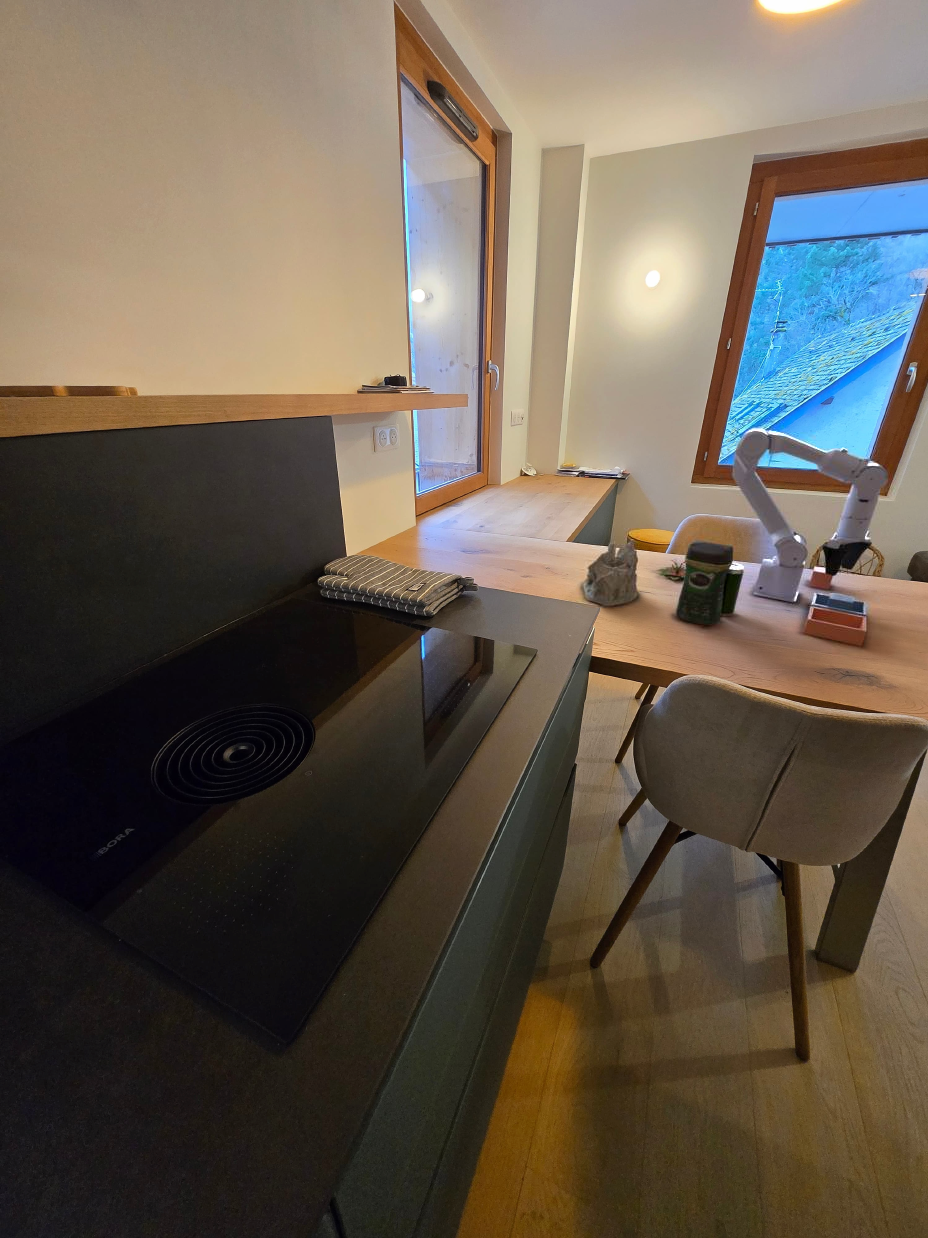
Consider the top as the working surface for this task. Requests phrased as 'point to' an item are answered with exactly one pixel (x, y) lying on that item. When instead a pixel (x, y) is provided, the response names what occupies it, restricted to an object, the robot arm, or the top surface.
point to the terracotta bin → (836, 625)
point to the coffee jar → (704, 582)
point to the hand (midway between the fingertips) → (838, 571)
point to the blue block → (840, 601)
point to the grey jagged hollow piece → (613, 576)
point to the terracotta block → (820, 579)
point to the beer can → (731, 589)
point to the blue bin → (822, 600)
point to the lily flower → (674, 571)
